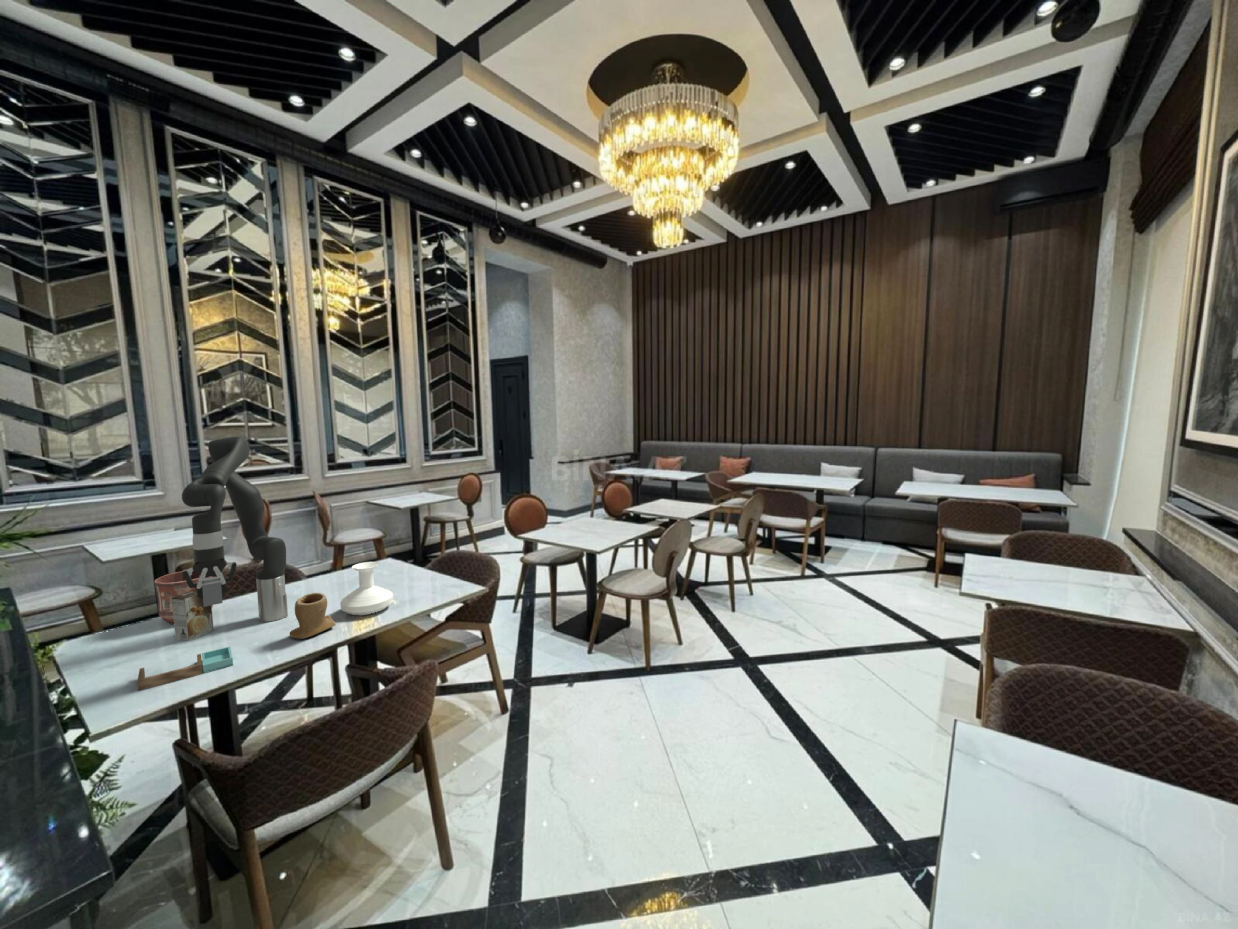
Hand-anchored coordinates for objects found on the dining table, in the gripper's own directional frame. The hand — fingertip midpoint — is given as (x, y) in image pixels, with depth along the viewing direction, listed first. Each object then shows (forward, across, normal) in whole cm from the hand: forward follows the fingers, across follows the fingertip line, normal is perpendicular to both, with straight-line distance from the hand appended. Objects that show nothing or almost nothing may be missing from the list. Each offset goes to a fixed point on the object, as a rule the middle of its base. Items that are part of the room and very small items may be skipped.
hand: (212, 596), depth 157 cm
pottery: (+23, +7, -55) cm, 60 cm away
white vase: (+23, -50, -16) cm, 57 cm away
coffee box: (+23, +5, -33) cm, 40 cm away
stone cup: (+23, -29, -5) cm, 37 cm away
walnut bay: (+23, +11, 0) cm, 25 cm away
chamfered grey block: (+2, 0, 0) cm, 2 cm away
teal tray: (+23, 0, 0) cm, 23 cm away
